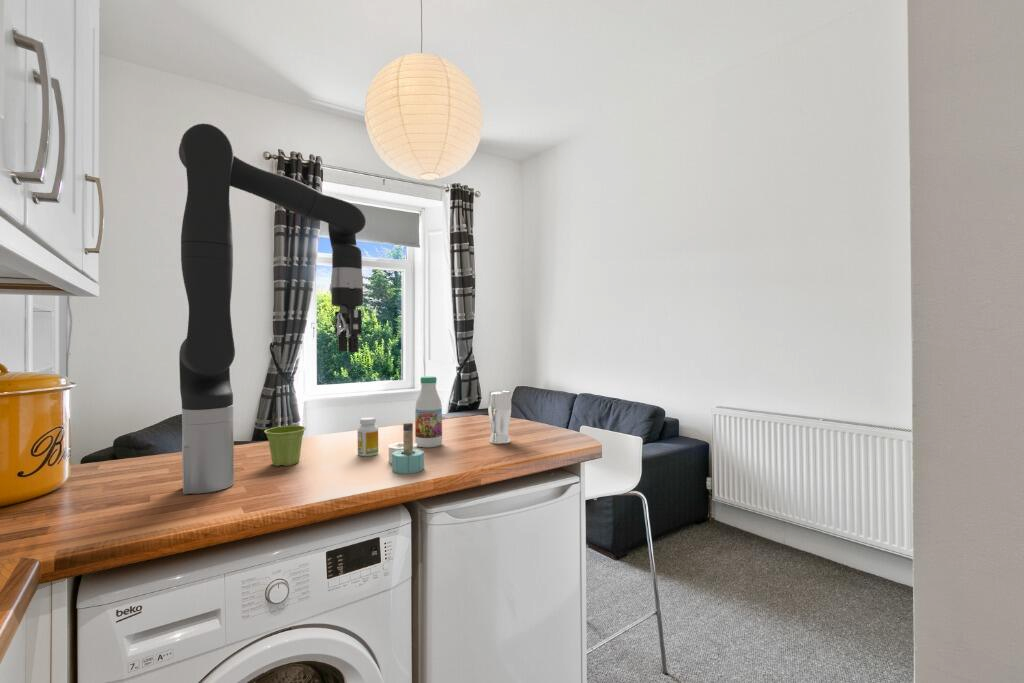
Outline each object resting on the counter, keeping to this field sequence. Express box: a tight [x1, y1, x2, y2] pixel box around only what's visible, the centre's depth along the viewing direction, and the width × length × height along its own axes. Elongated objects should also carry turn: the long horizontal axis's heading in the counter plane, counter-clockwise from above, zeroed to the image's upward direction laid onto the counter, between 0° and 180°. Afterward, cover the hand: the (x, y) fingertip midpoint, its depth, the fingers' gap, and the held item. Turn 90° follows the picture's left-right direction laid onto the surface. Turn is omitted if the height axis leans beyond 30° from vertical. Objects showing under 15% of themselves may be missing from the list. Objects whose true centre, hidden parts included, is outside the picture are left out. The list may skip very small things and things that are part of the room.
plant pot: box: [263, 425, 306, 467], centre depth 121 cm, size 9×9×9 cm
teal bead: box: [391, 448, 425, 474], centre depth 116 cm, size 7×7×4 cm
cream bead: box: [388, 441, 418, 465], centre depth 124 cm, size 7×7×4 cm
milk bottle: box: [414, 375, 443, 448], centre depth 141 cm, size 8×8×20 cm
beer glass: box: [487, 390, 512, 445], centre depth 144 cm, size 7×7×15 cm
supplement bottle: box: [357, 416, 379, 457], centre depth 130 cm, size 5×5×10 cm
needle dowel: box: [402, 422, 414, 455], centre depth 116 cm, size 2×2×11 cm
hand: (347, 351), depth 121 cm, fingers open, 8 cm apart
